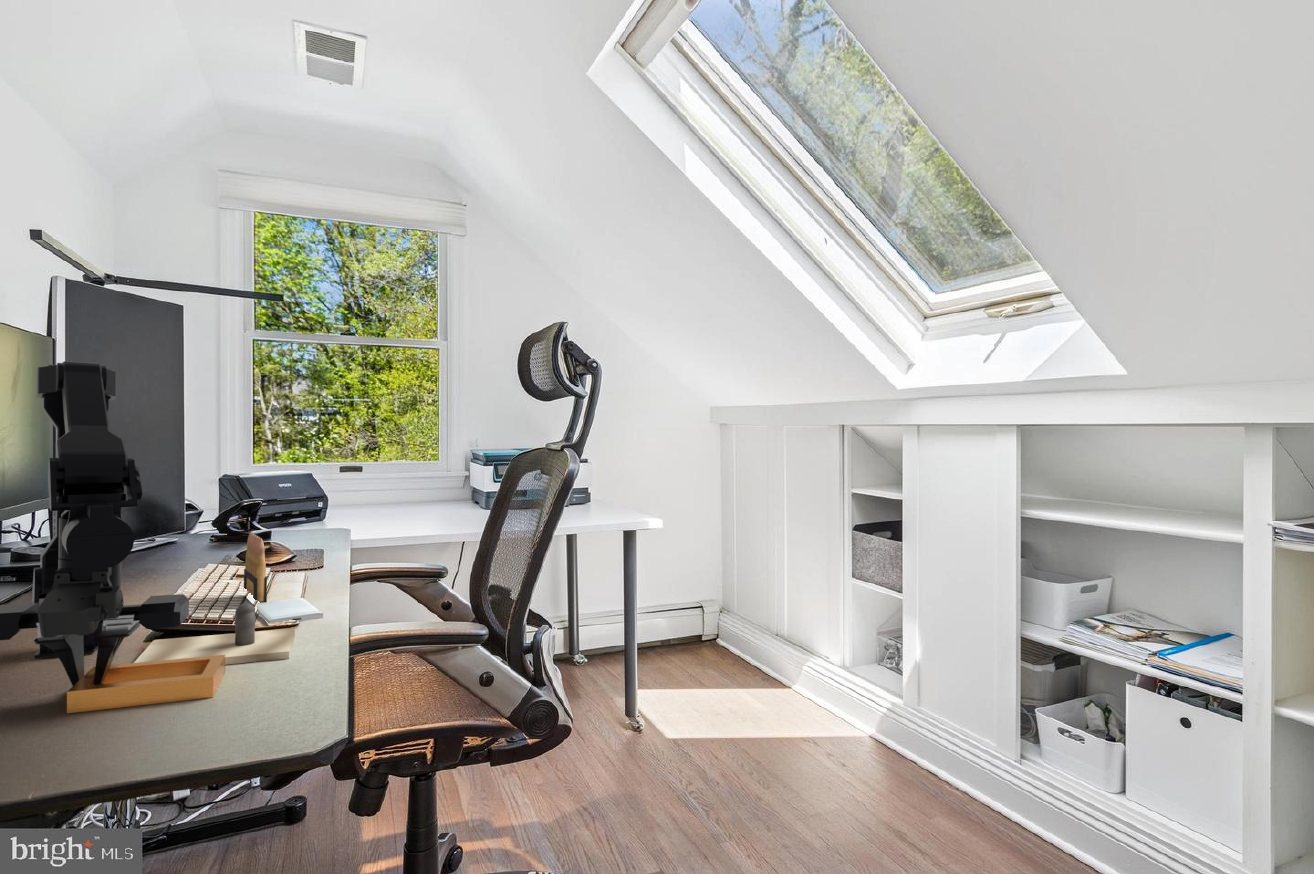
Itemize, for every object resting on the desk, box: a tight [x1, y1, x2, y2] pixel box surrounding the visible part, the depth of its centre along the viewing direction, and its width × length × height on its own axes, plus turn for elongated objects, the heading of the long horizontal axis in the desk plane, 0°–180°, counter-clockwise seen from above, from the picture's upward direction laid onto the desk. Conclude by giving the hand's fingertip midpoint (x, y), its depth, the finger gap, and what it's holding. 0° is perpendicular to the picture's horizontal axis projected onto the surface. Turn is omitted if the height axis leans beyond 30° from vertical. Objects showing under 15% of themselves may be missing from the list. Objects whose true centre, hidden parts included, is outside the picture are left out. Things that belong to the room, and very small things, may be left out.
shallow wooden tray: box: [66, 655, 226, 714], centre depth 85 cm, size 14×9×2 cm, turn 114°
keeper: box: [133, 602, 296, 666], centre depth 100 cm, size 18×12×7 cm, turn 114°
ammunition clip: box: [243, 531, 268, 603], centre depth 129 cm, size 11×2×12 cm, turn 40°
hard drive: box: [257, 597, 324, 623], centre depth 121 cm, size 2×8×12 cm
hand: (88, 690), depth 82 cm, fingers closed on shallow wooden tray, 1 cm apart
